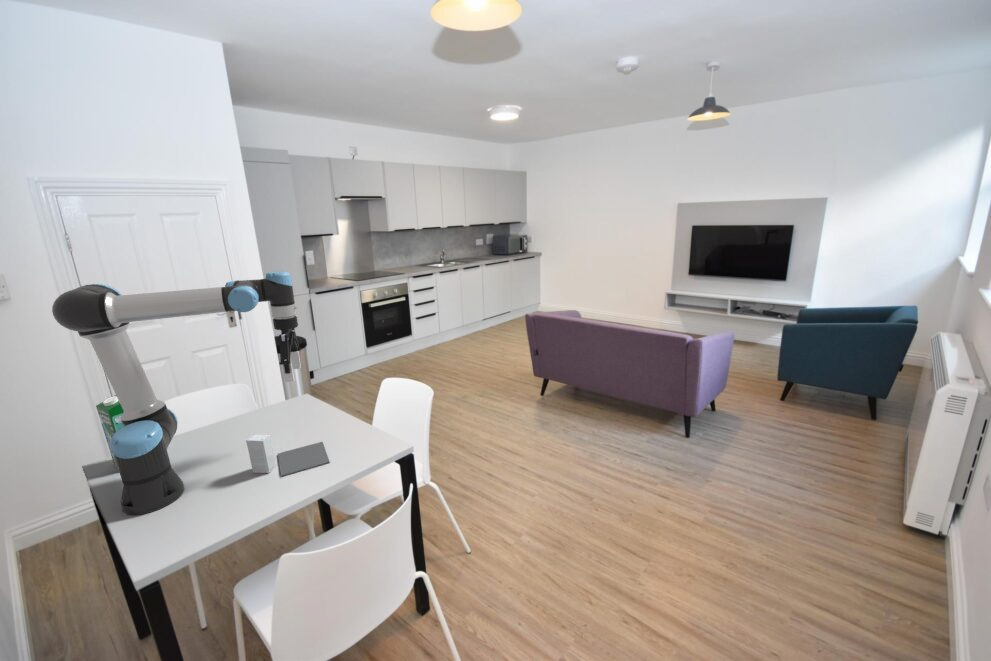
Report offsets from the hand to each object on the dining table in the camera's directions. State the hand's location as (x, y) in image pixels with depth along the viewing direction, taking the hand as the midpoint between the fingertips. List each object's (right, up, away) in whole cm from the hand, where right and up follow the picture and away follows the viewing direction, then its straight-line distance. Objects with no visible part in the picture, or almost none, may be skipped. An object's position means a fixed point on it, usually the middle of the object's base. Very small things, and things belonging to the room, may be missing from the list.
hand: (293, 374), depth 154 cm
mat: (+5, -29, -4) cm, 30 cm away
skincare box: (-5, -31, -9) cm, 33 cm away
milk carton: (-56, -31, -1) cm, 64 cm away
